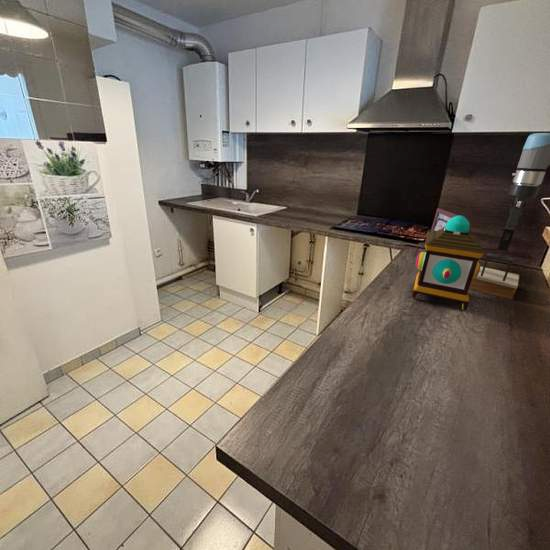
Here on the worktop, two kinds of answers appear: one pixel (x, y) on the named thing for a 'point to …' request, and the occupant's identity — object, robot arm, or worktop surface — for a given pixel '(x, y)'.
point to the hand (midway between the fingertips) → (503, 245)
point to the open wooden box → (492, 288)
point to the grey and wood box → (498, 272)
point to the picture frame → (441, 219)
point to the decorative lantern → (449, 262)
